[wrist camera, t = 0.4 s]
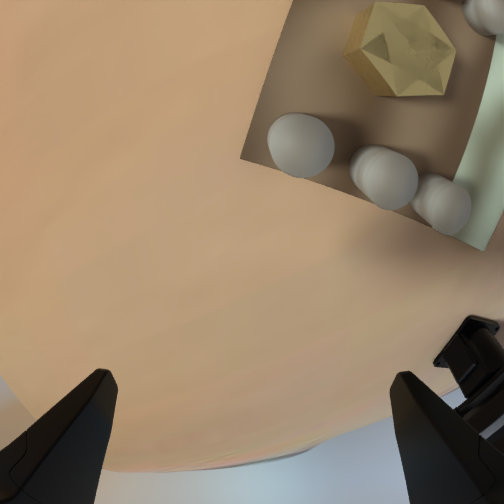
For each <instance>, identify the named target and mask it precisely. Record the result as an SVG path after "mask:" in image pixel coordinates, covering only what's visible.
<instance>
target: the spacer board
mask: <svg viewBox="0 0 504 504" xmlns="http://www.w3.org/2000/svg"><path fill="white" fill-rule="evenodd" d="M374 2H391V3H405V4H416V5H424V6H425V7H426V8H427V9H428V11H429V12H430V13H431V15H432V16H433V17H434V19H435V20H436V21H437V23H438V24H439V26H440V27H441V28H442V30H443V31H444V33H445V34H446V36H447V37H448V39H449V40H450V42H451V43H452V45H453V46H454V48H455V49H456V54H455V58H454V62H453V65H452V69H451V73H450V76H449V80H448V83H447V86H446V90H445V93H444V95H418V96H398V97H397V96H375V95H374V94H373V93H372V92H371V90H370V89H369V88H368V86H367V85H366V84H365V83H364V81H363V80H362V79H361V78H360V76H359V75H358V74H357V73H356V71H355V70H354V69H353V68H352V67H351V65H350V64H349V63H348V62H347V61H346V60H345V58H344V57H343V53H344V50H345V47H346V44H347V41H348V38H349V35H350V32H351V29H352V26H353V23H354V20H355V17H356V15H357V14H358V13H360V12H361V11H363V10H364V9H366V8H367V7H368V6H370V5H371V4H373V3H374ZM240 159H243V160H246V161H250V162H253V163H257V164H260V165H263V166H267V167H270V168H273V169H276V170H280V171H283V172H284V173H286V174H288V175H290V176H293V177H297V178H304V179H307V180H310V181H313V182H316V183H319V184H322V185H325V186H328V187H331V188H333V189H336V190H339V191H342V192H344V193H347V194H350V195H353V196H355V197H358V198H361V199H363V200H366V201H368V202H371V203H374V204H376V205H377V206H378V207H380V208H382V209H385V210H391V211H394V212H396V213H399V214H401V215H403V216H406V217H408V218H411V219H413V220H415V221H418V222H420V223H422V224H425V225H427V226H429V227H431V228H434V229H436V230H437V231H438V232H440V233H441V234H444V235H450V236H452V237H454V238H456V239H458V240H460V241H463V242H465V243H467V244H469V245H471V246H473V247H475V248H477V249H479V250H481V251H484V250H485V248H486V246H487V244H488V242H489V240H490V238H491V236H492V234H493V232H494V230H495V228H496V226H497V223H498V221H499V219H500V217H501V215H502V213H503V210H504V0H293V2H292V5H291V8H290V10H289V13H288V16H287V19H286V21H285V24H284V27H283V30H282V32H281V35H280V38H279V41H278V44H277V47H276V49H275V52H274V55H273V58H272V61H271V64H270V67H269V70H268V73H267V76H266V79H265V82H264V85H263V88H262V91H261V94H260V97H259V100H258V103H257V106H256V109H255V112H254V115H253V118H252V121H251V124H250V128H249V131H248V134H247V137H246V140H245V144H244V147H243V150H242V153H241V157H240Z"/></svg>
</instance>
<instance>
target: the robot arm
mask: <svg viewBox="0 0 504 504" xmlns="http://www.w3.org/2000/svg"><path fill="white" fill-rule="evenodd" d="M499 328H500V326H499V324H498V323H495V322H491V321H487V320H483V319H479V318H475V317H467V318H466V319H465V320H464V322H463V323H462V325H461V326H460V327H459V329H458V330H457V332H456V333H455V334H454V336H453V337H452V338H451V340H450V341H449V342H448V344H447V345H446V346H445V348H444V349H443V350H442V351H441V353H440V354H439V355H438V356H437V358H436V359H435V360H434V361H433V364H434V366H435V367H442V368H449V369H450V371H451V373H452V375H453V376H454V378H455V380H456V382H457V383H458V385H459V387H460V389H461V390H462V393H463V394H464V397H465V398H467V400H465V401H464V402H463V403H462V404H461V405H459V406H458V407H456V408H455V409H452V408H451V407H450V406H449V405H447V404H446V403H445V402H444V401H443V400H442V399H441V398H440V397H439V396H438V395H436V394H435V393H434V392H433V391H432V390H431V389H430V388H429V387H428V386H427V385H425V384H424V383H423V382H422V381H421V380H420V379H419V378H418V377H417V376H415V375H414V374H413V373H412V372H411V371H403V372H399V373H398V374H397V375H396V377H395V379H394V381H393V383H392V385H391V388H390V399H391V406H392V413H393V421H394V429H395V435H396V439H397V444H398V447H399V452H400V456H401V461H402V466H403V470H404V475H405V480H406V485H407V490H408V495H409V501H410V504H504V349H503V348H502V346H501V345H500V343H499V342H498V341H497V339H496V338H495V336H494V335H495V334H496V333H497V331H498V330H499ZM117 394H118V387H117V384H116V382H115V380H114V377H113V375H112V373H111V371H110V370H107V369H101V368H99V369H96V370H95V371H94V372H93V373H92V374H90V375H89V376H88V377H87V378H86V379H85V380H83V381H82V382H81V383H80V384H79V385H78V386H76V387H75V388H74V389H73V390H72V391H71V392H69V393H68V394H67V395H66V396H65V397H64V398H62V399H61V400H60V401H59V402H58V403H57V404H56V405H54V406H53V407H52V408H51V409H50V410H49V411H47V412H46V413H45V414H44V415H43V416H42V417H41V418H39V419H38V420H37V421H36V422H35V423H34V424H33V425H31V427H29V428H28V429H27V431H24V432H23V433H22V434H21V435H20V436H19V437H18V438H16V439H15V440H14V441H13V442H11V443H10V444H9V445H8V446H6V447H5V448H4V449H2V450H1V451H0V504H94V500H95V496H96V491H97V487H98V482H99V478H100V474H101V469H102V465H103V461H104V457H105V453H106V449H107V446H108V442H109V438H110V434H111V430H112V424H113V417H114V411H115V405H116V399H117Z"/></svg>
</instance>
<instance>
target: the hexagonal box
mask: <svg viewBox="0 0 504 504" xmlns="http://www.w3.org/2000/svg"><path fill="white" fill-rule="evenodd" d="M455 54H456V49H455V48H454V46H453V45H452V43H451V42H450V40H449V39H448V37H447V36H446V34H445V33H444V31H443V30H442V28H441V27H440V26H439V24H438V23H437V21H436V20H435V19H434V17H433V16H432V15H431V13H430V12H429V11H428V9H427V8H426V7H425V6H424V5H416V4H405V3H391V2H374V3H373V4H371V5H370V6H368V7H367V8H366V9H364V10H363V11H361V12H360V13H358V14H357V15H356V17H355V20H354V23H353V26H352V29H351V32H350V35H349V38H348V41H347V44H346V47H345V50H344V53H343V57H344V58H345V60H346V61H347V62H348V63H349V64H350V65H351V67H352V68H353V69H354V70H355V71H356V73H357V74H358V75H359V76H360V78H361V79H362V80H363V81H364V83H365V84H366V85H367V86H368V88H369V89H370V90H371V92H372V93H373V94H374V95H375V96H397V97H398V96H418V95H444V93H445V90H446V86H447V83H448V80H449V76H450V73H451V69H452V65H453V62H454V58H455Z"/></svg>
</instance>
